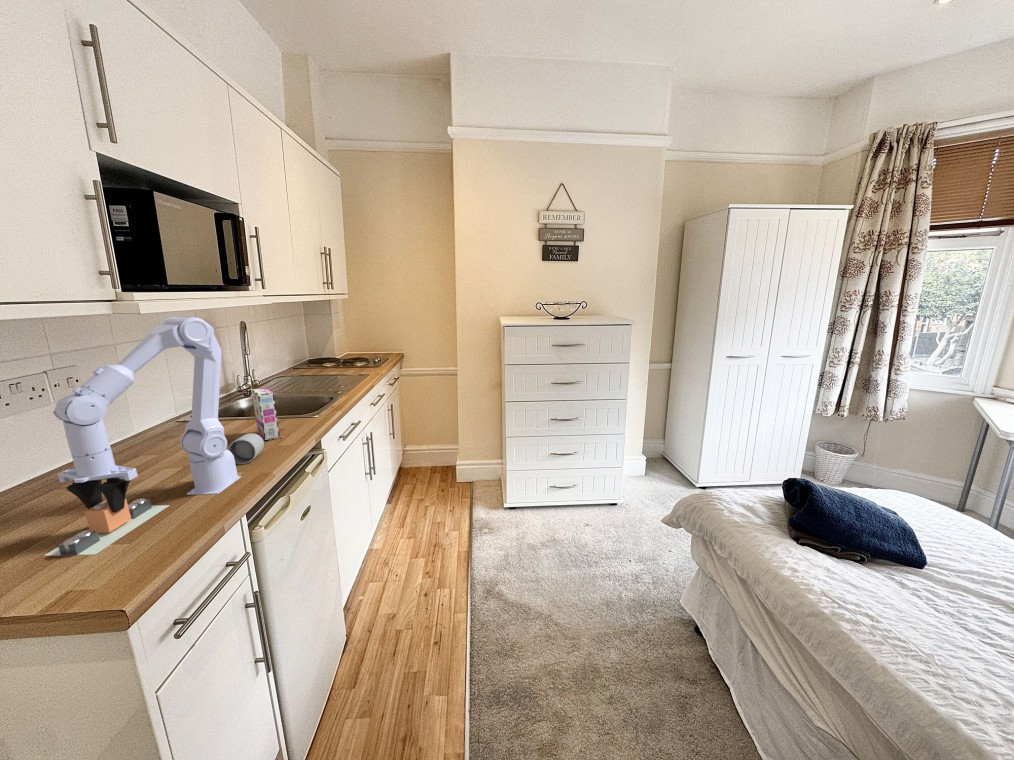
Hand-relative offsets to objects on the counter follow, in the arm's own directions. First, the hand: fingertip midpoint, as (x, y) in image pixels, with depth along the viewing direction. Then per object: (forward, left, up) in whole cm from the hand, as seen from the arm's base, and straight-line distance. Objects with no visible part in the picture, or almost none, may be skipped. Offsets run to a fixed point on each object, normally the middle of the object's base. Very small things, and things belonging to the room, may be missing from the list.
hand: (107, 510), depth 86 cm
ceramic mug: (-36, +6, -5) cm, 37 cm away
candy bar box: (-56, +2, -5) cm, 56 cm away
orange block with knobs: (0, 0, -4) cm, 4 cm away
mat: (0, 0, -5) cm, 5 cm away
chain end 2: (-6, 0, -4) cm, 7 cm away
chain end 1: (+7, 0, -4) cm, 8 cm away
